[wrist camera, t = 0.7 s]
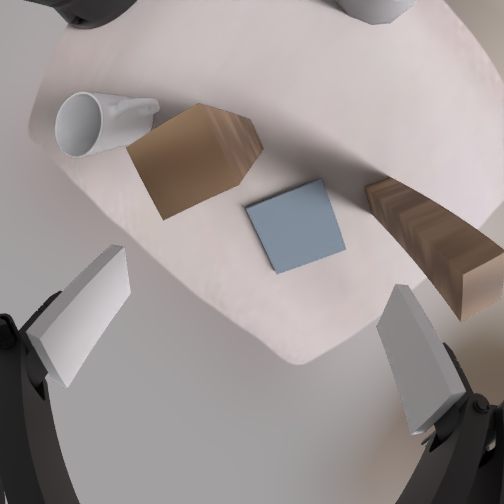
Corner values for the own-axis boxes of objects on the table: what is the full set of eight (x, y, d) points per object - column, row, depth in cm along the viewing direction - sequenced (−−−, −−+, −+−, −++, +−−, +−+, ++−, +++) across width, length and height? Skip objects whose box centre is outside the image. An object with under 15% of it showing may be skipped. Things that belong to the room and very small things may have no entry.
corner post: (219, 133, 31) (125, 147, 11) (249, 119, 30) (198, 103, 10) (233, 161, 32) (163, 220, 12) (263, 148, 31) (238, 185, 11)
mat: (246, 207, 35) (246, 209, 34) (320, 178, 32) (321, 179, 31) (277, 271, 38) (276, 274, 38) (344, 247, 36) (345, 249, 35)
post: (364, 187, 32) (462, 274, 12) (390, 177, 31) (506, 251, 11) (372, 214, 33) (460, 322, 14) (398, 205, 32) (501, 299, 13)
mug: (118, 151, 32) (61, 167, 22) (109, 107, 30) (50, 109, 19) (183, 129, 31) (138, 133, 20) (173, 81, 28) (125, 65, 17)
